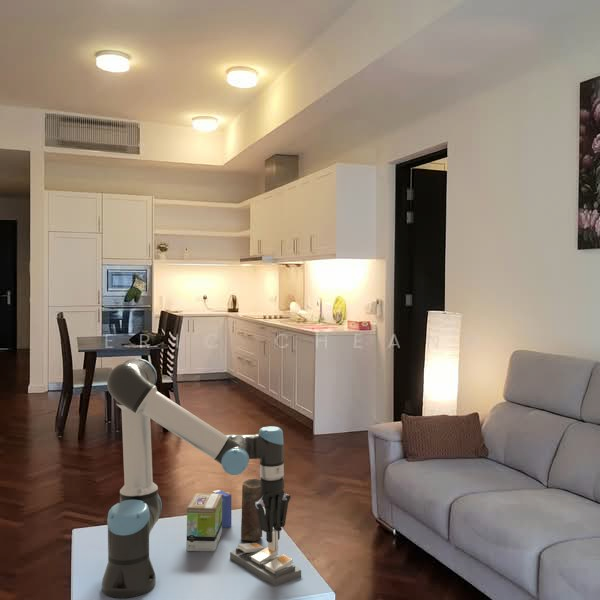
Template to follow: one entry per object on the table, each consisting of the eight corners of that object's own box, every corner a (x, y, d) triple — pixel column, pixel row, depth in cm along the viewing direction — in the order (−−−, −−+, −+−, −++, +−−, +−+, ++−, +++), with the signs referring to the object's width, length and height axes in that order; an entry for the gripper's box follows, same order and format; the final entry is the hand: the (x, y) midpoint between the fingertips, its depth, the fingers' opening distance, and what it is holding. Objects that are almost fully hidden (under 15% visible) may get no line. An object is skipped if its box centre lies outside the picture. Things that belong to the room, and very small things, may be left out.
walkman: (231, 526, 230) (231, 493, 230) (225, 528, 228) (225, 495, 228) (218, 520, 236) (218, 488, 235) (212, 522, 234) (212, 490, 233)
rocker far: (245, 552, 199) (246, 548, 199) (237, 547, 202) (238, 543, 203) (263, 551, 203) (264, 547, 203) (255, 546, 207) (255, 542, 207)
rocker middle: (260, 565, 193) (259, 561, 193) (251, 559, 197) (250, 556, 197) (278, 554, 197) (277, 551, 197) (269, 549, 201) (268, 546, 201)
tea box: (216, 552, 208) (215, 507, 208) (185, 551, 208) (185, 507, 208) (222, 533, 223) (222, 492, 223) (194, 533, 223) (194, 492, 223)
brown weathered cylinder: (265, 536, 221) (265, 479, 220) (258, 544, 214) (258, 486, 213) (245, 533, 223) (245, 477, 222) (237, 542, 216) (237, 484, 215)
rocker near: (274, 574, 187) (274, 570, 187) (265, 568, 191) (264, 564, 191) (292, 562, 192) (292, 559, 191) (283, 557, 195) (283, 553, 195)
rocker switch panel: (274, 586, 185) (274, 575, 185) (230, 558, 203) (230, 548, 203) (301, 576, 191) (301, 565, 191) (255, 549, 210) (255, 540, 210)
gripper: (261, 484, 191) (262, 561, 192) (296, 475, 199) (297, 548, 200) (247, 478, 197) (248, 553, 198) (281, 469, 205) (282, 541, 206)
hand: (273, 550), depth 199 cm, fingers closed
